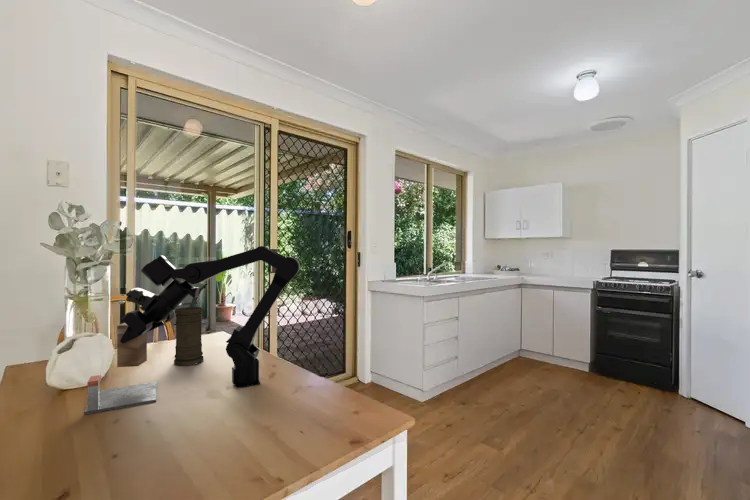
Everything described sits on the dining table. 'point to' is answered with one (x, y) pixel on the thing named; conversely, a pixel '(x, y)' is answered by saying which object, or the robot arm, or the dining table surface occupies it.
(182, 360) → the container
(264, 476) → the dining table surface
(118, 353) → the link block
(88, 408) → the keeper
